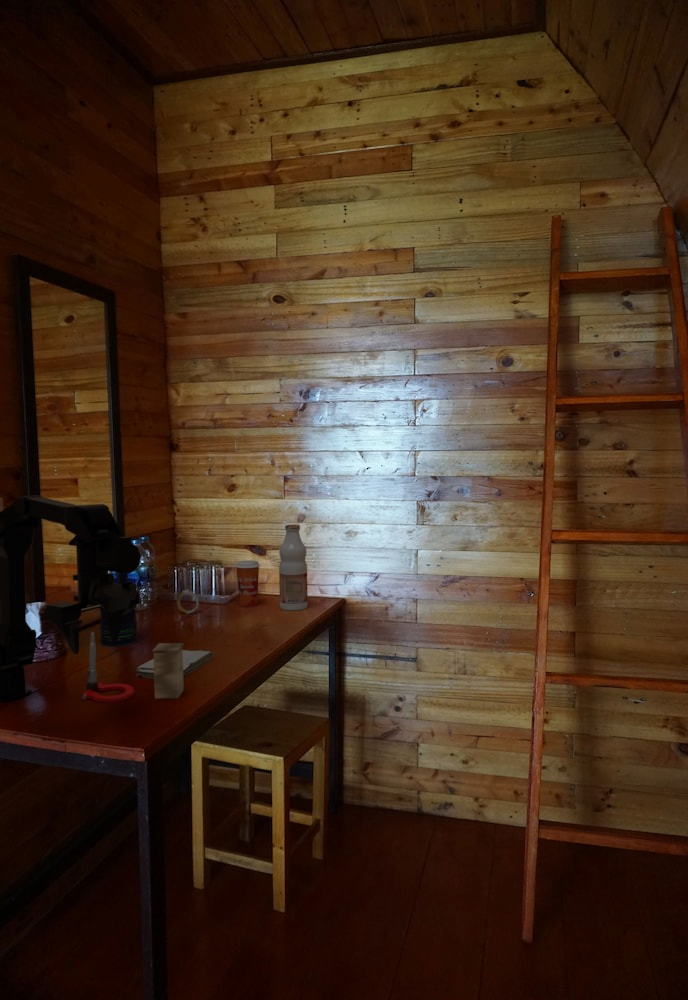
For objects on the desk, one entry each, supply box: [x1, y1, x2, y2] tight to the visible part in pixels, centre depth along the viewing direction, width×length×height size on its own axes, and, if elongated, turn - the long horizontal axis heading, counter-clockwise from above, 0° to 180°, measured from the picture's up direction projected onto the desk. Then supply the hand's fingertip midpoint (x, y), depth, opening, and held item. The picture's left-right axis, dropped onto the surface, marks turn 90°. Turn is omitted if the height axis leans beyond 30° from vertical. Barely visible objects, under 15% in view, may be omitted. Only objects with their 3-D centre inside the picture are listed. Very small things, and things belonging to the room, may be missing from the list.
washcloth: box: [136, 649, 214, 679], centre depth 168 cm, size 12×18×3 cm, turn 164°
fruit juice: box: [278, 524, 309, 612], centre depth 229 cm, size 9×9×28 cm
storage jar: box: [99, 577, 138, 648], centre depth 190 cm, size 10×10×18 cm
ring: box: [176, 588, 200, 614], centre depth 223 cm, size 7×3×8 cm, turn 83°
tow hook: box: [80, 631, 135, 703], centre depth 149 cm, size 9×14×10 cm
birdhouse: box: [151, 642, 184, 699], centre depth 151 cm, size 5×9×11 cm, turn 0°
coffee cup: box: [235, 559, 261, 608], centre depth 234 cm, size 8×8×15 cm
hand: (95, 647), depth 134 cm, fingers open, 9 cm apart
